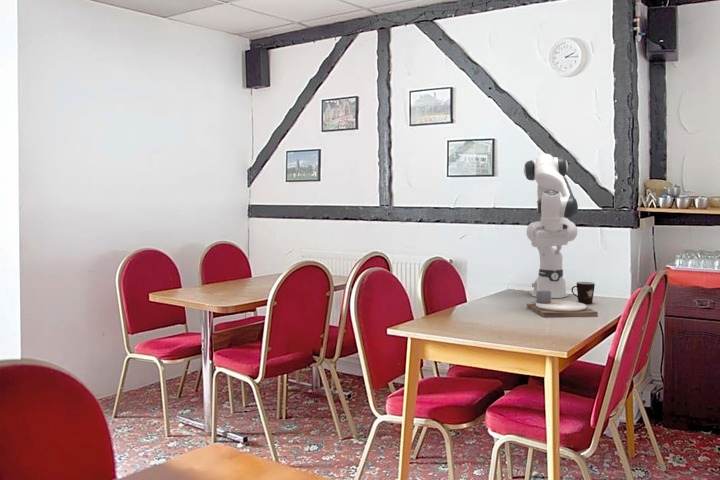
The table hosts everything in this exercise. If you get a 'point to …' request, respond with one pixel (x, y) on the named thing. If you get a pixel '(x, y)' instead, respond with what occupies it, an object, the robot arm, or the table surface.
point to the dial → (556, 303)
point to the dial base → (562, 312)
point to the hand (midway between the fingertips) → (549, 255)
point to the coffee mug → (585, 292)
